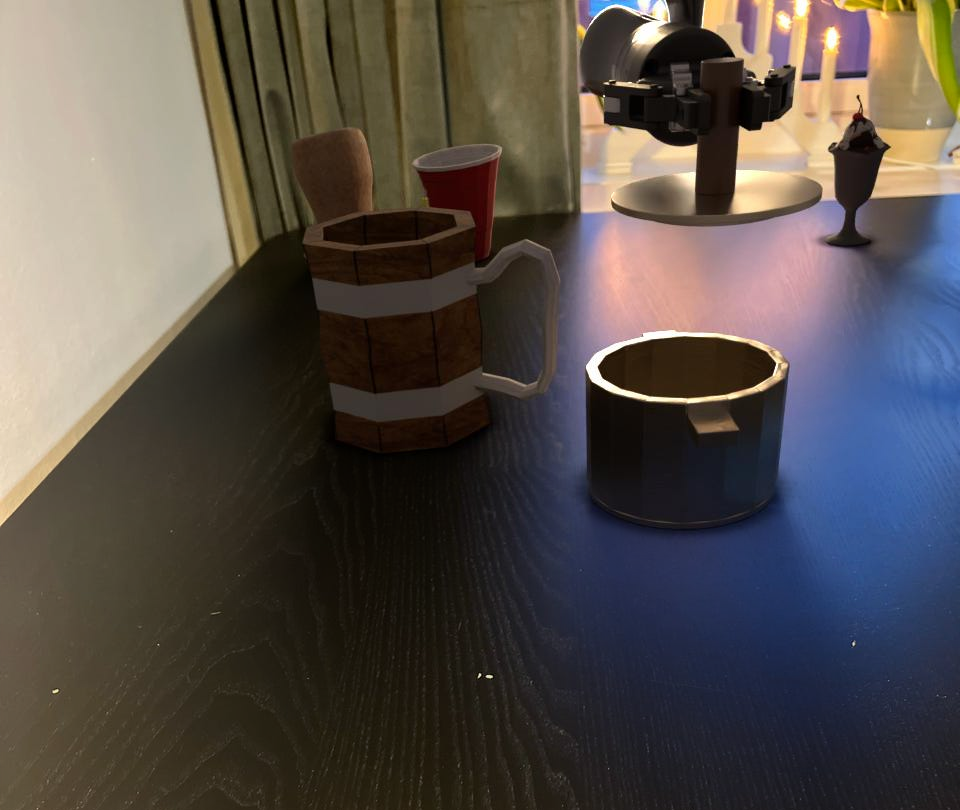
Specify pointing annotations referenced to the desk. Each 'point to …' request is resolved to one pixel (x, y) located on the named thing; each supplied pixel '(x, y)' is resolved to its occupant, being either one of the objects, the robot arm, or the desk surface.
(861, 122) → the sundae
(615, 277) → the desk surface
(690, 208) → the lid
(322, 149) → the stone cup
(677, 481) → the pot
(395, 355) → the mug
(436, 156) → the plastic cup
